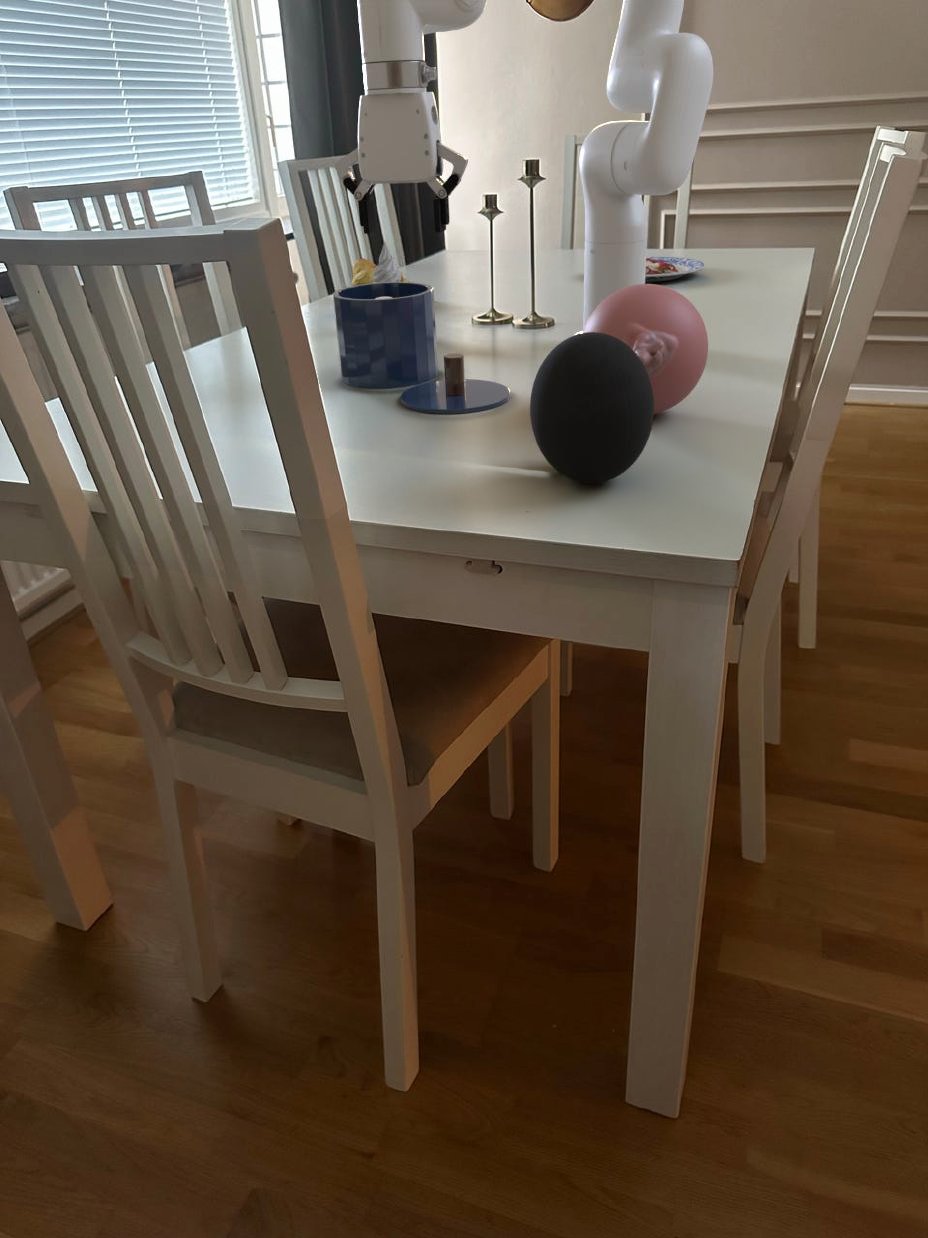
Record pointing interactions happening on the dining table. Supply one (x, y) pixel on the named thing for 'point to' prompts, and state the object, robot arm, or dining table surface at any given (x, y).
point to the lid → (455, 392)
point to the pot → (386, 334)
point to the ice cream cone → (386, 268)
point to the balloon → (657, 337)
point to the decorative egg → (592, 407)
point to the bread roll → (366, 272)
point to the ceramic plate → (670, 268)
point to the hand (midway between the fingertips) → (405, 231)
